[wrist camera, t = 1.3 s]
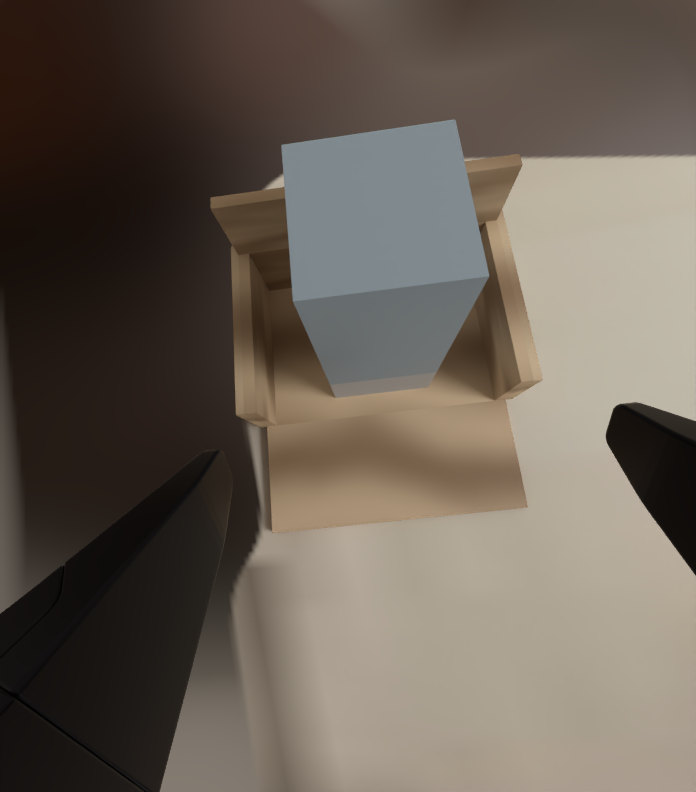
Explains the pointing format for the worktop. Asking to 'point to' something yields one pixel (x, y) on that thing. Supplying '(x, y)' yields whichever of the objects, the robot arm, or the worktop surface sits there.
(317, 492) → the kraft carton
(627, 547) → the worktop surface
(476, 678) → the worktop surface
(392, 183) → the slate block
